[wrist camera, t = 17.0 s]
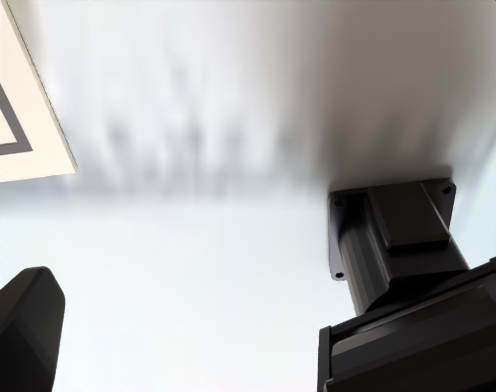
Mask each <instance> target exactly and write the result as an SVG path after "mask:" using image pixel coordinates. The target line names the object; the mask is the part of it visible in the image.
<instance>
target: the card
mask: <svg viewBox="0 0 496 392" xmlns="http://www.w3.org/2000/svg"><path fill="white" fill-rule="evenodd" d="M76 170H77V165H76V163H75V161H74V158H73V156H72V154H71V151H70V149H69V147H68V144H67V142H66V140H65V137H64V135H63V133H62V130H61V128H60V126H59V123H58V121H57V119H56V116H55V114H54V112H53V109H52V107H51V105H50V103H49V100H48V98H47V96H46V93H45V91H44V89H43V86H42V84H41V82H40V79H39V77H38V75H37V72H36V70H35V68H34V65H33V63H32V61H31V58H30V56H29V54H28V51H27V49H26V47H25V44H24V42H23V40H22V37H21V35H20V33H19V30H18V28H17V26H16V23H15V21H14V19H13V16H12V14H11V12H10V9H9V7H8V5H7V3H6V0H0V182H5V181H13V180H21V179H29V178H37V177H45V176H53V175H61V174H68V173H76Z"/></svg>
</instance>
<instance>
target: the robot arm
mask: <svg viewBox="0 0 496 392" xmlns="http://www.w3.org/2000/svg"><path fill="white" fill-rule="evenodd" d="M447 186H448V187H447ZM444 187H447V188H446V189H444V190H442V189H443V188H444ZM455 194H456V185H455V184H454V182H453V181H452V180H451V179H449V178H441V179H433V180H425V181H417V182H408V183H400V184H392V185H383V186H375V187H367V188H359V189H350V190H342V191H336V192H333V193H332V194H330V196H329V197H328V218H329V252H330V273H331V277H332V279H333V280H336V281H344V280H347V282H348V286H349V290H350V294H351V297H352V301H353V305H354V309H355V312H356V316H357V317H354V318H352V319H350V320H347V321H345V322H342V323H340V324H337V325H335V326H333V327H331V326H327V327H325V328H322V329H320V330H319V347H318V381H317V392H496V257H494V258H491V259H489V261H490V262H487V263H485V264H483V265H480V266H478V267H475V268H473V269H470V268H469V266H468V264H467V262H466V261H465V259H464V257H463V255H462V253H461V252H460V250H459V248H458V246H457V244H456V243H455V241H454V239H453V237H452V236H451V234H450V232H449V226H450V221H451V216H452V210H453V205H454V199H455ZM339 199H340V200H341V201H340V202H335V201H336V200H339ZM339 272H341V273H339ZM64 312H65V296H64V293H63V291H62V289H61V288H60V286H59V284H58V282H57V281H56V279H55V277H54V275H53V274H52V272H51V270H50V269H49V268H48V267H45V266H40V267H31V268H26V269H24V270H22V271H21V272H20V273H19V274H18V275H16V276H15V277H14V278H13V279H12V280H11V281H10V282H9V283H8V284H6V285H5V286H4V287H3V288H2V289H1V290H0V392H52V388H53V384H54V379H55V374H56V368H57V361H58V354H59V347H60V340H61V333H62V326H63V319H64Z"/></svg>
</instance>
